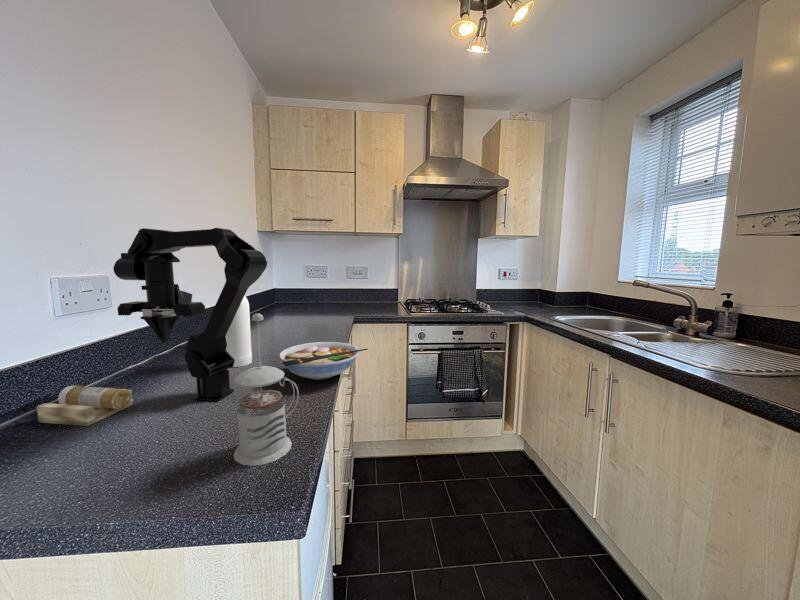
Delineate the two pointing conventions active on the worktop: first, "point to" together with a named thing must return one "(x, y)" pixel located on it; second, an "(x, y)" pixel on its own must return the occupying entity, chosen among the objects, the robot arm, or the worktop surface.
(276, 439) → the french press
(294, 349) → the ramen bowl
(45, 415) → the bottle rest
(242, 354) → the bottle
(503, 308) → the worktop surface
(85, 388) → the sprinkles bottle
